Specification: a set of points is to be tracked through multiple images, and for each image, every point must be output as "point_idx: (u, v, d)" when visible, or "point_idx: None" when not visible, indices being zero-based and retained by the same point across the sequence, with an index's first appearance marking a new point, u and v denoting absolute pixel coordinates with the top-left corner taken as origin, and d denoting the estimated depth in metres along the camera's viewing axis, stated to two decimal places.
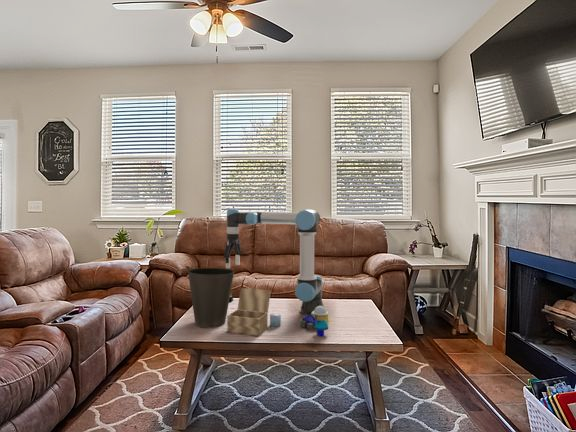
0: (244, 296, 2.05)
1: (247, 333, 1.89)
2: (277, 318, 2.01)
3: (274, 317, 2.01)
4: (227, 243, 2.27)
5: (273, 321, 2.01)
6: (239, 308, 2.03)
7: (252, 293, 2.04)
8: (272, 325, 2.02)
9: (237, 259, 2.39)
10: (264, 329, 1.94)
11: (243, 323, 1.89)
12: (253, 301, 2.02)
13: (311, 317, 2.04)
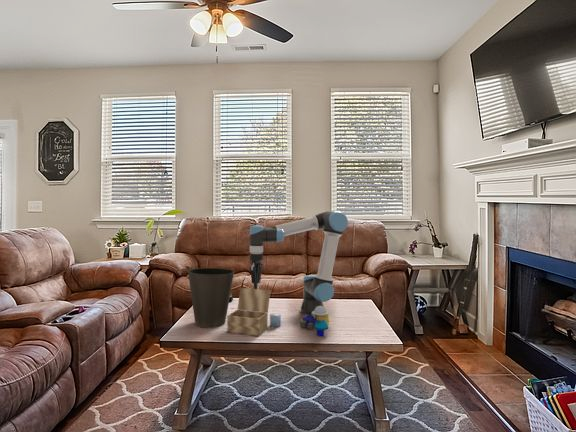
0: (244, 296, 2.05)
1: (247, 333, 1.89)
2: (277, 318, 2.01)
3: (274, 317, 2.01)
4: (251, 269, 2.00)
5: (273, 321, 2.01)
6: (239, 308, 2.03)
7: (252, 293, 2.04)
8: (272, 325, 2.02)
9: None
10: (264, 329, 1.94)
11: (243, 323, 1.89)
12: (253, 301, 2.02)
13: (311, 317, 2.04)
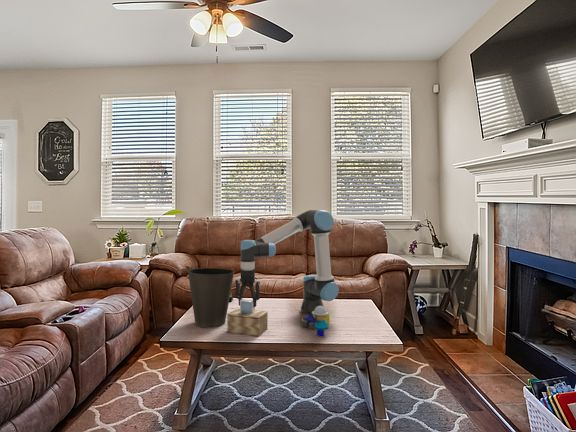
0: None
1: (247, 333, 1.89)
2: (249, 304, 1.92)
3: (246, 303, 1.92)
4: None
5: (245, 307, 1.92)
6: None
7: None
8: (243, 312, 1.92)
9: None
10: (264, 329, 1.94)
11: (243, 323, 1.89)
12: None
13: (312, 317, 2.04)
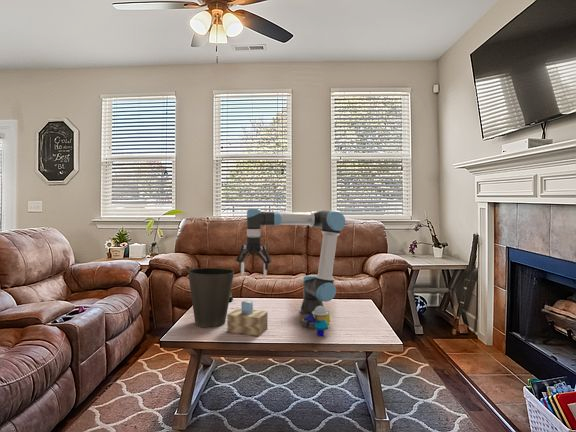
0: None
1: (247, 333, 1.89)
2: (248, 305, 1.92)
3: (245, 304, 1.92)
4: None
5: (244, 308, 1.92)
6: None
7: None
8: (243, 312, 1.92)
9: None
10: (264, 329, 1.94)
11: (243, 323, 1.89)
12: None
13: None
